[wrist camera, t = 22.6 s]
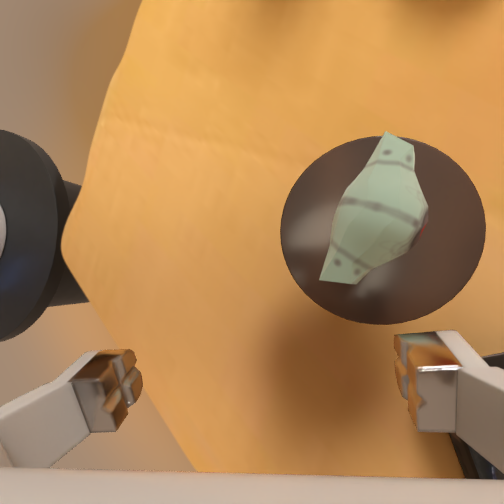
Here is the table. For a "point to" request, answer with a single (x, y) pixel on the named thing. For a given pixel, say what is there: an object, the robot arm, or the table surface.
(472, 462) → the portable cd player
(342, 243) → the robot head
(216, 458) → the table surface
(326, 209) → the brown round base
